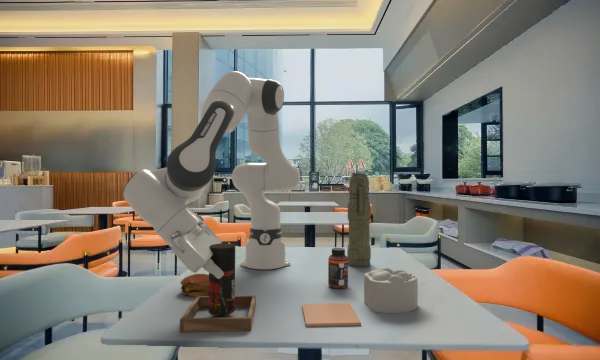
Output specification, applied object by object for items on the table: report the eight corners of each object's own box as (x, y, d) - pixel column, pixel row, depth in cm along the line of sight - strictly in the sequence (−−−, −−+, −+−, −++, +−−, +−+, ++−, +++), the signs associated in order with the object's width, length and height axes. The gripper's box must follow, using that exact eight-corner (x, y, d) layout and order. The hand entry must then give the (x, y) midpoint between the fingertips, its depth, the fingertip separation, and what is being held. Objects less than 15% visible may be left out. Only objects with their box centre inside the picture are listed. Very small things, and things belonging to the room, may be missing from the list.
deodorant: (211, 306, 79) (211, 243, 79) (236, 305, 80) (236, 243, 80) (206, 316, 73) (206, 248, 73) (233, 315, 74) (233, 248, 74)
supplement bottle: (347, 290, 96) (347, 251, 97) (327, 288, 98) (327, 250, 98) (348, 284, 102) (348, 247, 102) (329, 282, 103) (329, 246, 104)
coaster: (302, 306, 83) (302, 303, 83) (349, 305, 84) (349, 303, 84) (306, 326, 71) (306, 323, 71) (361, 325, 72) (361, 322, 72)
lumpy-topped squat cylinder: (361, 298, 89) (361, 266, 90) (408, 297, 90) (408, 265, 90) (372, 313, 79) (372, 276, 79) (425, 312, 80) (425, 276, 80)
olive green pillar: (351, 268, 121) (351, 173, 122) (344, 261, 133) (344, 174, 134) (375, 268, 122) (375, 173, 123) (365, 260, 134) (365, 174, 135)
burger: (217, 286, 100) (217, 270, 100) (215, 296, 91) (215, 279, 91) (182, 288, 98) (183, 272, 98) (177, 299, 89) (177, 281, 89)
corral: (197, 306, 83) (197, 296, 83) (255, 305, 84) (255, 295, 84) (179, 332, 68) (179, 319, 68) (250, 330, 69) (251, 318, 69)
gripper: (178, 225, 66) (227, 274, 66) (202, 215, 86) (240, 252, 87) (155, 248, 65) (204, 296, 66) (184, 232, 86) (222, 269, 86)
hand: (224, 271), depth 77 cm, fingers closed on deodorant, 6 cm apart
